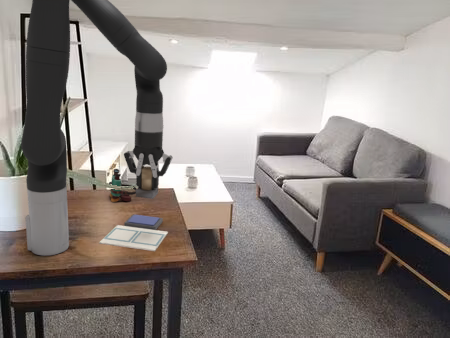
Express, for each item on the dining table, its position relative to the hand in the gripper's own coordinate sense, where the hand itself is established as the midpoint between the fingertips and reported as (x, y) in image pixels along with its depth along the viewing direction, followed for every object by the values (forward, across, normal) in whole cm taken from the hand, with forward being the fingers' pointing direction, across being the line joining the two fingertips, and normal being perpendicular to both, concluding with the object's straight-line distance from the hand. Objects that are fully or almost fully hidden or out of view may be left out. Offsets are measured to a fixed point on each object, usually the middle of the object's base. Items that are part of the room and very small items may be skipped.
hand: (147, 188), depth 112 cm
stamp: (+2, 0, 0) cm, 2 cm away
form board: (+15, -3, -2) cm, 15 cm away
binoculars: (+15, -18, +28) cm, 36 cm away
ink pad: (+15, -3, +8) cm, 17 cm away
